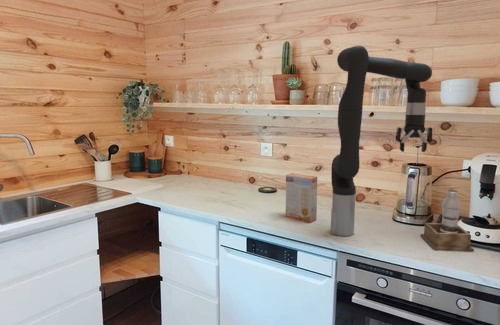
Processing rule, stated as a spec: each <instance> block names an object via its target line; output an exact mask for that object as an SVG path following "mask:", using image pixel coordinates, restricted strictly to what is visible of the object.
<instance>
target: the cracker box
mask: <svg viewBox="0 0 500 325" xmlns="http://www.w3.org/2000/svg"><path fill="white" fill-rule="evenodd" d="M317 198H318V176H316V175H307V174H301V173H288V174H285V218H289V217H290V219H293V218H294V219H293V220H298V221H303V222H307V223H312V222H314V221H317V216H318V215H317V212H318V210H317V209H318V207H317V206H318V199H317Z"/></svg>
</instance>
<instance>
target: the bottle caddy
mask: <svg viewBox="0 0 500 325" xmlns="http://www.w3.org/2000/svg"><path fill="white" fill-rule="evenodd" d="M441 224H442V222H440V223H433V222H425V223H424V226H423V227H424V229H423V233H420V235H419V236H420V237H421V239H422V240H423V241H424V242H425V243H426V244H427V245H428V246H429V247H430V248H431V249H432V251H446V252H448V251H450V252H452V251H453V252H470V253H471V252H475V249H474V248H473V247H472V246H471V238H472V234H470V233H469V232H468V231H467V230H465V229H463V227H461V226H460V225H458V234H456V233H439V232H440V228H441Z"/></svg>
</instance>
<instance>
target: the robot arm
mask: <svg viewBox="0 0 500 325" xmlns="http://www.w3.org/2000/svg"><path fill="white" fill-rule="evenodd" d="M336 59H337V62H336V63H337V65H338V67H339V68H340V69H341V70H342V71H343V72H347V82H346V84H345V85H346V86H345V89H344V91H343V94H342V96H341V98H340V100H339V104H338V110H337V128H338V133H339V138H340V150H339V154H336V155H335V157H334V158H333V160H332V161H331V169H330V170H331V171H330V172H331V188H332V198H331V199H332V203H331V205H332V206H331V209H330V212H331V214H330V232H331V235H334V236H335V235H336V236H340V237H350V236H353V235H354V234H355V212H356V196H357V194H356V193H357V192H356V189H357V188H356V185H355V183H354V177H356V176H357V175H358V173H359V171H360V140H361V139H360V138H361V130H362V119H363V104H364V93H365V85H366V79H367V73H371V74H375V75H381V76H385V77H388V78H389V77H390V78H394V79H400V80H403V79H404V81H405V86H406V91H407V97H406V98H407V102H406V107H405V119H404V120H405V121H404V127H396V134H395V141H396V142H398V143H399V150H400V152H403V153H404V152H405V144H406V143H405V142H406V141H407V140H409V138H410V139H412V138H416V139H418V138H419V140H421V142H422V143H421V149H420V150H421V152H422V153H425V151H427V148H428V143H430V142H433V127H431V126H430V127H425V125H426V124H425V121H426V110H427V109H426V100H427V91H426V89H425V88H422V87H421V84H420V83H423V82H424V83H425V82H427V81H429V80H430V79H431V78H432V75H433V70H432V68H431V66H429V65H428V64H426V63H421V62H420V63H419V62H409V61H405V60H399V59H396V58H388V57H374V56H369V52H368V50H367V49H366V47H365V46H363V45H355V46H351V47H347V48H345V49H343V50H341V52H339V53H338V56H337V58H336ZM403 132H404V134H403V136H402V133H403ZM424 132H426V137H425V135H424ZM401 136H402V137H401Z"/></svg>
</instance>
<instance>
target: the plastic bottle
mask: <svg viewBox="0 0 500 325" xmlns="http://www.w3.org/2000/svg"><path fill="white" fill-rule="evenodd" d="M458 197H459V191H458V190H455V189H447V191H446V197H445V198H444V199H443V200H442V203H441V207H442V208H441V212H442V213H441V214H442V220H441V223H442V224H441V228H440V232H439V233H456V234H458V226H459V225H458V224H459V217H460V213H461V209H462V203H461V201H460V200H459V198H458Z"/></svg>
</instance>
